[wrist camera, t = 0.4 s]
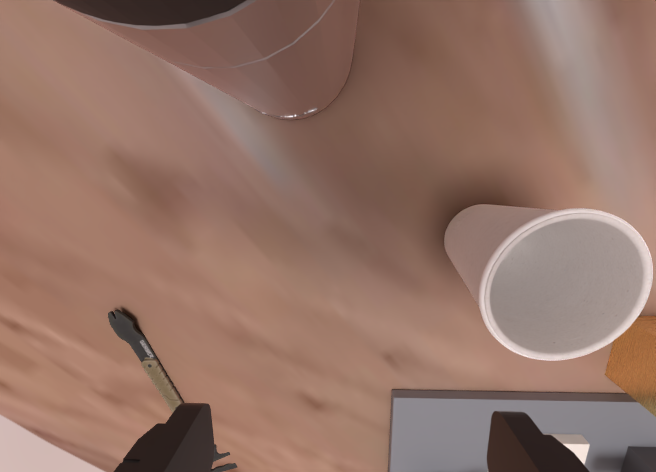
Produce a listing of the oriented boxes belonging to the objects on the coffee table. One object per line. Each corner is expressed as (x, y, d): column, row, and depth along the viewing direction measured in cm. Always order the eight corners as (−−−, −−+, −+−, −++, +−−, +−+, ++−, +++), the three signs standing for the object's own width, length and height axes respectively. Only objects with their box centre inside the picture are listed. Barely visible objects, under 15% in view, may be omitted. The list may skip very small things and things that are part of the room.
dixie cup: (406, 245, 25) (446, 301, 16) (480, 164, 23) (578, 172, 14) (477, 303, 26) (557, 389, 17) (554, 231, 24) (693, 281, 15)
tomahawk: (260, 453, 33) (258, 463, 32) (204, 471, 33) (200, 482, 32) (172, 287, 28) (166, 292, 27) (106, 310, 28) (98, 316, 27)
